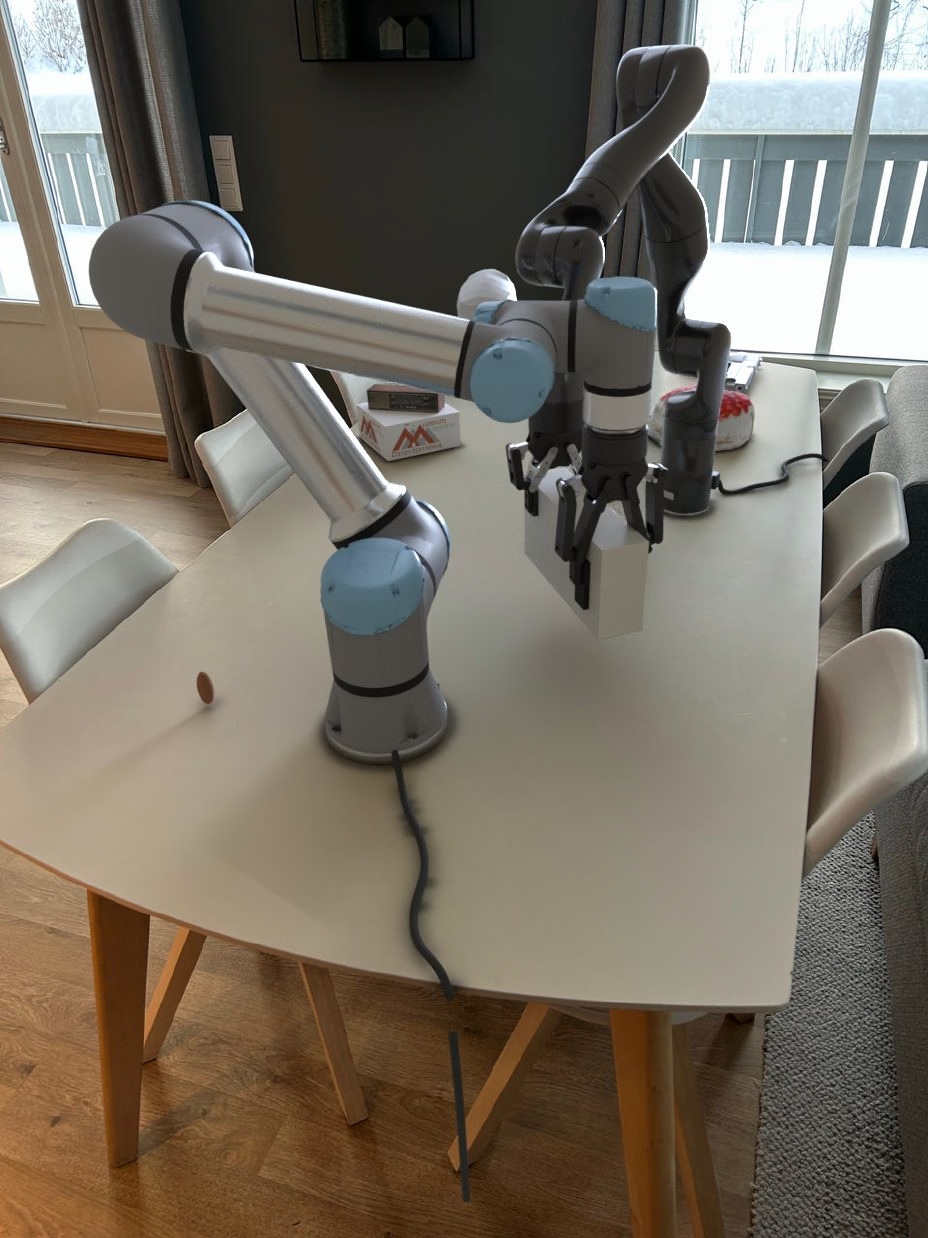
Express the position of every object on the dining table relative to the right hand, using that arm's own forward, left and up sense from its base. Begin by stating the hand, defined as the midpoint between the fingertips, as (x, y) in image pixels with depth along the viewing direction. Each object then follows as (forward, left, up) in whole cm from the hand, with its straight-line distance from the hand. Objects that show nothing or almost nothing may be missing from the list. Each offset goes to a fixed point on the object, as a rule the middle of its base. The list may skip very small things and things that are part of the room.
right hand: (555, 509), depth 125 cm
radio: (-46, -64, -17) cm, 81 cm away
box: (+5, +7, -8) cm, 12 cm away
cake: (-82, -13, -17) cm, 84 cm away
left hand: (+10, +13, -5) cm, 17 cm away
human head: (-102, -82, -17) cm, 132 cm away
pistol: (-120, -24, -17) cm, 124 cm away
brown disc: (+43, -27, -17) cm, 54 cm away
